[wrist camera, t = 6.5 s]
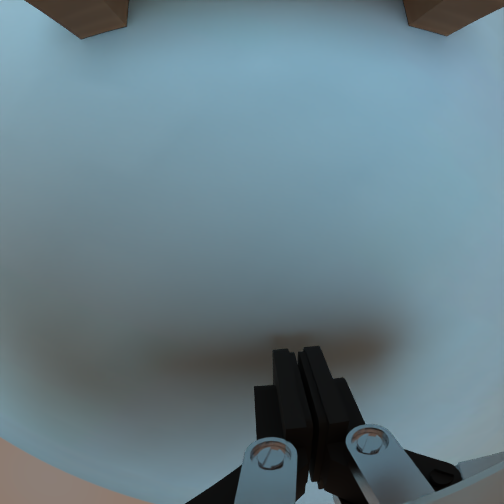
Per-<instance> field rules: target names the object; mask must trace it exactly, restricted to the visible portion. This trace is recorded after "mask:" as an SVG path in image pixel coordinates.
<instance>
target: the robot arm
mask: <svg viewBox="0 0 504 504" xmlns="http://www.w3.org/2000/svg"><path fill="white" fill-rule="evenodd" d="M254 396H255V415H256V433H257V440H256V441H255V442H253V443H251V444H250V445H249V446H248V447H247V449H246V451H245V454H244V458H243V463H242V465H241V466H240V467H238V468H237V469H235V470H234V471H233V472H231V473H230V474H229V475H227V476H226V477H224V478H223V479H222V480H220V481H219V482H217V483H216V484H214V485H213V486H211V487H210V488H208V489H207V490H205V491H204V492H202V493H201V494H199V495H198V496H196V497H195V498H193V499H192V500H190V501H188V502H187V503H185V504H295V502H296V501H297V500H298V499H299V498H300V497H301V496H302V495H303V494H304V493H305V485H306V483H307V480H308V473H310V478H311V481H312V482H316V481H317V483H318V488H319V489H324V490H325V491H327V492H329V493H331V494H333V500H334V502H335V504H504V452H500V453H496V454H493V455H489V456H485V457H481V458H476V459H472V460H467V461H463V462H459V463H458V464H457V465H456V466H454V465H452V464H450V463H447V462H444V461H440V460H437V459H433V458H430V457H427V456H424V455H420V454H417V453H414V452H411V451H408V450H405V449H403V448H402V447H401V445H400V444H399V443H398V441H397V440H396V439H395V437H394V436H393V435H392V433H391V432H390V431H389V430H388V429H386V428H384V427H382V426H380V425H375V424H365V422H364V420H363V418H362V415H361V413H360V411H359V409H358V407H357V404H356V402H355V400H354V398H353V395H352V393H351V391H350V389H349V387H348V384H347V382H346V380H345V379H344V378H336V379H333V378H332V375H331V373H330V371H329V368H328V366H327V363H326V361H325V358H324V356H323V353H322V351H321V349H320V347H319V346H313V347H304V349H303V351H302V352H298V364H297V361H296V357H295V353H294V352H291V353H289V350H288V349H279V350H273V385H268V386H254Z"/></svg>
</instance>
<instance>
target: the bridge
mask: <svg viewBox="0 0 504 504" xmlns="http://www.w3.org/2000/svg"><path fill="white" fill-rule="evenodd" d="M25 1H26V2H28V3H29V4H31V5H32V6H34V7H35V8H37V9H38V10H40V11H41V12H43V13H44V14H46V15H47V16H49V17H50V18H52V19H53V20H55V21H56V22H57V23H59V24H60V25H62V26H63V27H65V28H66V29H67V30H69V31H70V32H72V33H73V34H74V35H76V36H77V37H79V38H80V39H83V38H86V37H89V36H93V35H96V34H100V33H103V32H107V31H110V30H114V29H118V28H122V27H126V26H127V14H128V3H129V0H25ZM403 2H404V6H405V10H406V14H407V19H408V23H409V26H412V27H416V28H420V29H424V30H428V31H432V32H435V33H439V34H442V35H445V36H448V35H450V34H452V33H453V32H455V31H457V30H459V29H461V28H463V27H465V26H466V25H468V24H470V23H472V22H474V21H476V20H478V19H480V18H482V17H484V16H486V15H488V14H490V13H492V12H494V11H496V10H498V9H500V8H502V7H504V0H403Z"/></svg>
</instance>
